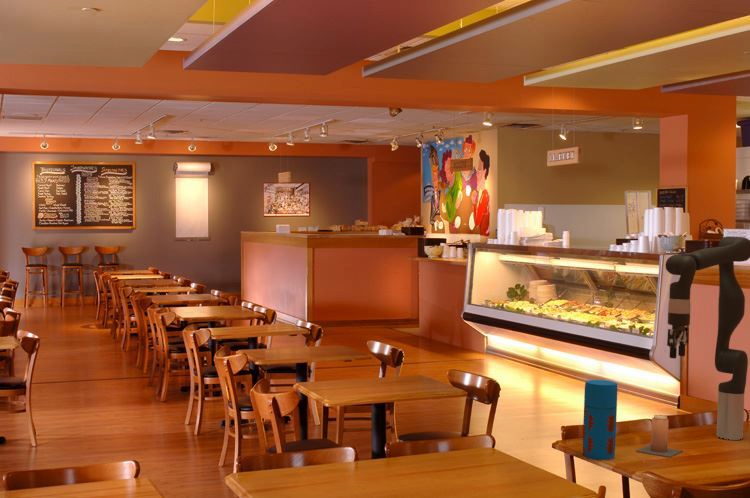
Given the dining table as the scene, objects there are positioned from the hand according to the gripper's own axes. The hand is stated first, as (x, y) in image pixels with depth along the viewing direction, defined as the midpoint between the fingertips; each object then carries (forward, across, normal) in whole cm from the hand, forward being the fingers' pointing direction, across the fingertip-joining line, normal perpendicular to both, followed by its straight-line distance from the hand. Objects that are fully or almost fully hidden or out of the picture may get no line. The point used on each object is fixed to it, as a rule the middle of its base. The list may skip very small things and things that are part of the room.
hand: (677, 357), depth 338 cm
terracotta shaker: (+32, -11, +1) cm, 34 cm away
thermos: (+32, -32, +14) cm, 48 cm away
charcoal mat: (+32, -11, +1) cm, 34 cm away
